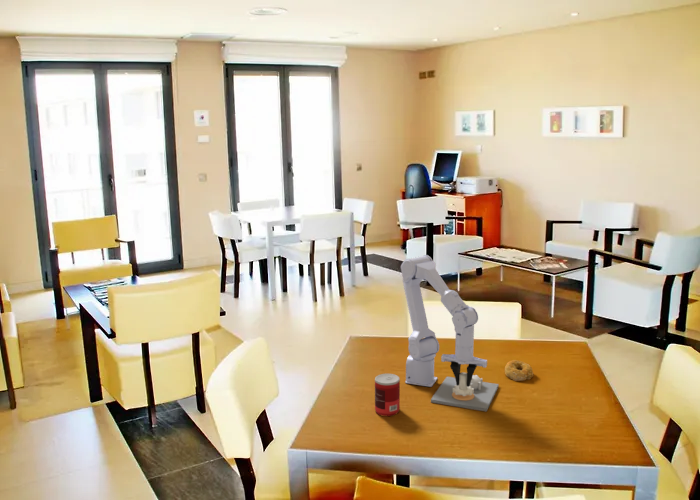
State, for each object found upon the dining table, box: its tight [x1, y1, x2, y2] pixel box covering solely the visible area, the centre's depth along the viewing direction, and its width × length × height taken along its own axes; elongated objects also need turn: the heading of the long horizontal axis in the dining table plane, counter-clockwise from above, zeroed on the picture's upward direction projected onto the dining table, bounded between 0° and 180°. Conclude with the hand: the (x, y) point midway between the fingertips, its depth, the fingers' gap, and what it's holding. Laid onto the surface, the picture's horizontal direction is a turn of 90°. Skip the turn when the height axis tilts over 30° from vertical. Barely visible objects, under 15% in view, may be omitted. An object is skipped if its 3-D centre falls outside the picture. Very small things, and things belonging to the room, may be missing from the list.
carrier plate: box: [430, 374, 500, 412], centre depth 214 cm, size 18×20×4 cm
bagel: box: [504, 359, 534, 382], centre depth 228 cm, size 10×11×5 cm
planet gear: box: [453, 372, 474, 396], centre depth 210 cm, size 6×6×6 cm
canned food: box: [374, 373, 401, 417], centre depth 202 cm, size 8×8×11 cm
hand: (463, 384), depth 210 cm, fingers closed on planet gear, 3 cm apart
